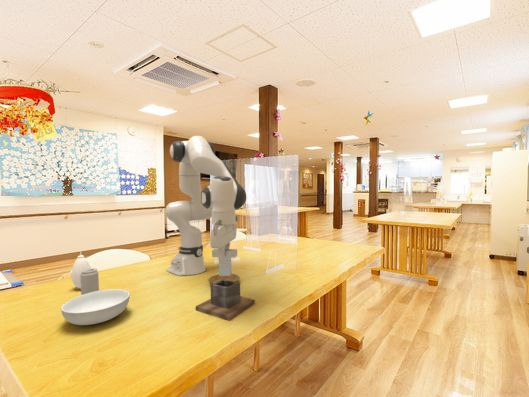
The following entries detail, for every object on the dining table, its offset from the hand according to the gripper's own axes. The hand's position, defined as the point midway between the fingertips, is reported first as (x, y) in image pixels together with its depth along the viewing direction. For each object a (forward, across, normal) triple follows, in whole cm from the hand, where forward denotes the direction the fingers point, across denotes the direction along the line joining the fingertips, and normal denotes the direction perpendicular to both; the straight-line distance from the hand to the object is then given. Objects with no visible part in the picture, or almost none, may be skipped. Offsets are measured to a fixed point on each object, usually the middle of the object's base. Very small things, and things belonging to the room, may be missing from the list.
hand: (224, 255), depth 105 cm
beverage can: (+20, +1, +60) cm, 64 cm away
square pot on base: (+20, 0, 0) cm, 20 cm away
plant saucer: (+20, +26, +9) cm, 34 cm away
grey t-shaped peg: (+7, 0, 0) cm, 7 cm away
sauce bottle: (+20, +10, +74) cm, 77 cm away
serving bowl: (+20, -15, +43) cm, 50 cm away
